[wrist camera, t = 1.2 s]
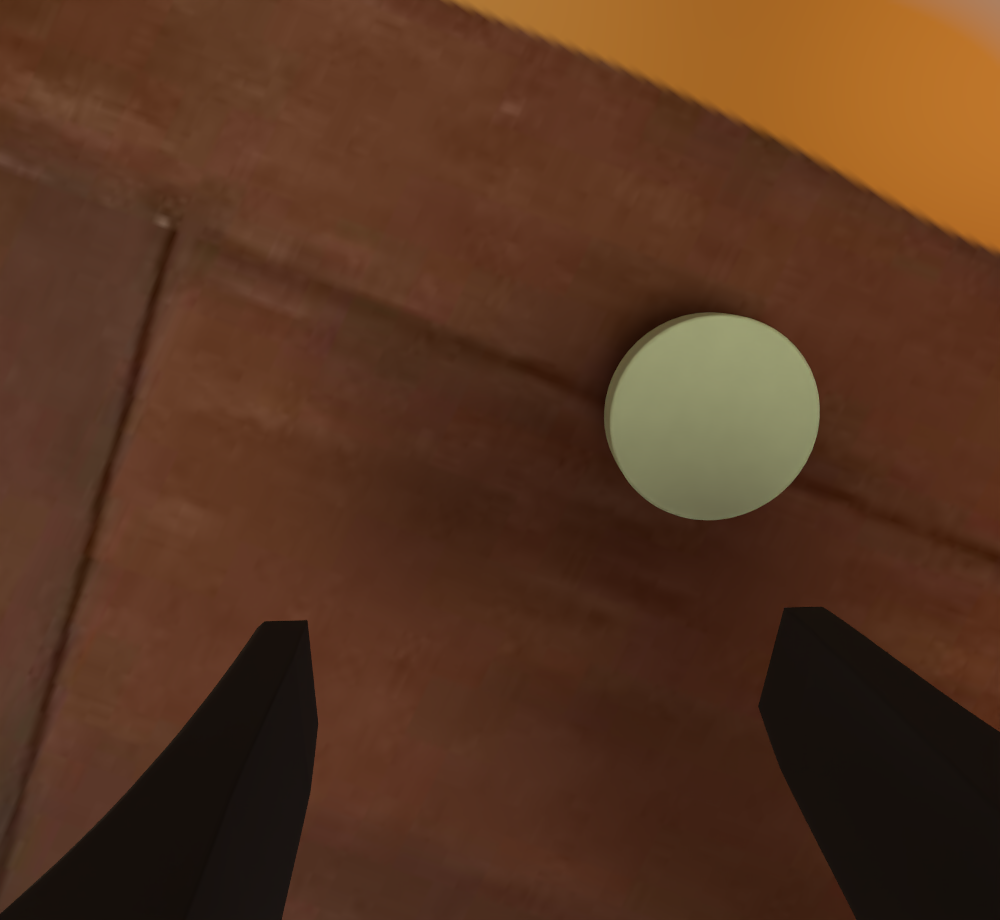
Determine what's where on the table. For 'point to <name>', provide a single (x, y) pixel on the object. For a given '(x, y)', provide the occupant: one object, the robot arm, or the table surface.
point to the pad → (711, 415)
